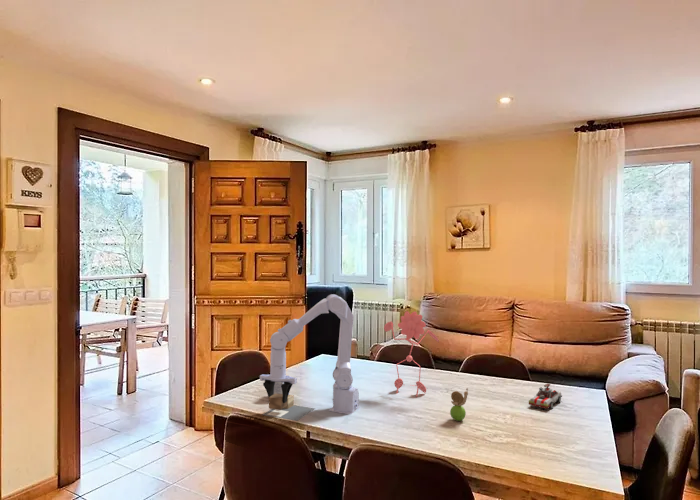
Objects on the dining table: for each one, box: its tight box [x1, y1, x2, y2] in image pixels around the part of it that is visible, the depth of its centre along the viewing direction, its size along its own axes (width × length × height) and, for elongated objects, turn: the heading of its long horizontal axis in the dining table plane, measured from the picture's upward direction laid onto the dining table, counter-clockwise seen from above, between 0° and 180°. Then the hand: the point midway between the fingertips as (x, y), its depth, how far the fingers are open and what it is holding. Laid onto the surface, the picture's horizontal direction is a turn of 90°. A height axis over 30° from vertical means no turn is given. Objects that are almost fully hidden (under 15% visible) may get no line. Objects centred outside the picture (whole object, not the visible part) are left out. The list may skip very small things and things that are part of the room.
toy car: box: [528, 383, 563, 410], centre depth 182 cm, size 8×18×8 cm, turn 138°
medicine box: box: [274, 374, 290, 395], centre depth 189 cm, size 8×4×9 cm, turn 168°
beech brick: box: [284, 394, 295, 409], centre depth 177 cm, size 4×4×4 cm
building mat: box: [261, 404, 316, 422], centre depth 172 cm, size 15×14×1 cm
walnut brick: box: [268, 393, 287, 410], centre depth 170 cm, size 5×5×4 cm
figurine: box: [383, 310, 440, 398], centre depth 199 cm, size 15×26×35 cm, turn 60°
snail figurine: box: [449, 388, 469, 422], centre depth 164 cm, size 5×6×12 cm
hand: (278, 401), depth 170 cm, fingers closed on walnut brick, 5 cm apart
